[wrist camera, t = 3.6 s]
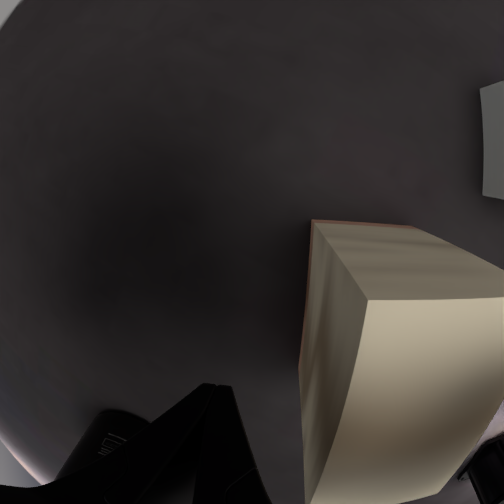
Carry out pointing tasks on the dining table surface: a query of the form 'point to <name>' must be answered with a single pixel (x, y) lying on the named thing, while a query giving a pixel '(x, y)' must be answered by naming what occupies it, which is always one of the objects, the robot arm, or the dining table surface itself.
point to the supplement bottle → (101, 440)
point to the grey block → (493, 139)
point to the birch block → (395, 361)
